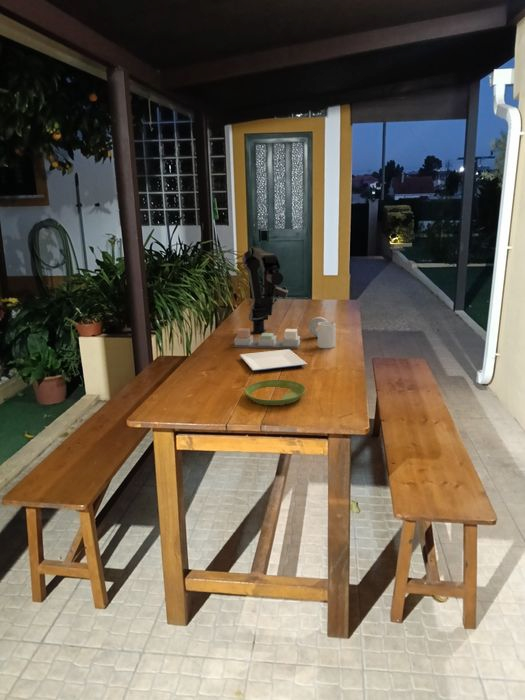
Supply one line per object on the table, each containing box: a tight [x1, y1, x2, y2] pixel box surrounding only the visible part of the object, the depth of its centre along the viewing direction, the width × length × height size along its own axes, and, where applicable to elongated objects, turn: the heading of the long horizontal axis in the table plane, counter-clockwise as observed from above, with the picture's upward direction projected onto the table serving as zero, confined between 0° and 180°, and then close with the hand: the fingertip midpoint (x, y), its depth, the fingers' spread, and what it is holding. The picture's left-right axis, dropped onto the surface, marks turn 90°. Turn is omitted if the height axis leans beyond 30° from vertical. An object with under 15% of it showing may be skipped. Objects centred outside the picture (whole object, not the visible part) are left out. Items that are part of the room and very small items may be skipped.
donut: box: [308, 316, 328, 338], centre depth 260 cm, size 10×4×10 cm, turn 83°
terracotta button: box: [236, 327, 251, 339], centre depth 252 cm, size 5×5×4 cm
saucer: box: [244, 379, 306, 406], centre depth 188 cm, size 21×21×3 cm
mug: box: [317, 320, 336, 349], centre depth 247 cm, size 12×8×10 cm, turn 164°
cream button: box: [284, 328, 298, 340], centre depth 247 cm, size 5×5×4 cm
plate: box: [239, 349, 308, 372], centre depth 225 cm, size 22×22×2 cm
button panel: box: [233, 334, 301, 350], centre depth 251 cm, size 10×29×4 cm, turn 79°
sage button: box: [260, 332, 275, 339], centre depth 250 cm, size 5×5×4 cm
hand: (270, 315), depth 256 cm, fingers closed
